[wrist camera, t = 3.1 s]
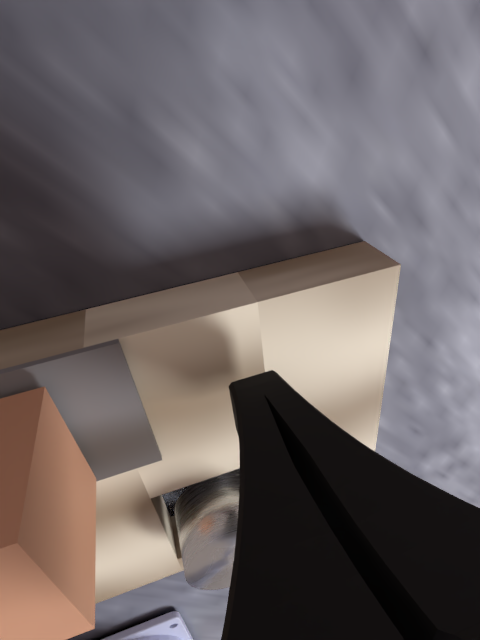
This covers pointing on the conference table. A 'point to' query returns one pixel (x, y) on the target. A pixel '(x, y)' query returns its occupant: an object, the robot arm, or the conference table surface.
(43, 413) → the slide paddle
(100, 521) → the control panel
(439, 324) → the conference table surface
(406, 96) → the conference table surface
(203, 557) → the push button
